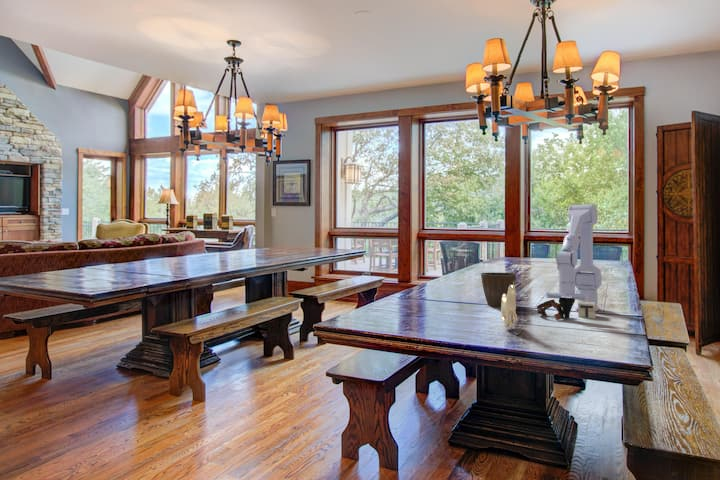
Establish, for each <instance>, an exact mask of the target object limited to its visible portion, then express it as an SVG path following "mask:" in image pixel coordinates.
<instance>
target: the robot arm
mask: <svg viewBox="0 0 720 480" xmlns="http://www.w3.org/2000/svg"><path fill="white" fill-rule="evenodd" d="M567 217H568V219H569V221H570V222H569V223H570V224H569V228H568V234H567V235H565V236H564V238H563V242H562V245H561V249H560V251H558V252H557V253H556V256H555V257H556V258H555V261H556V265H557V266H556V267H557V268H556V270H558V292H546V299H558V304H559V303H560V305H561V307H562V310H563V312H564V319H570V315H571V311H572V308H573V306H574V303H575V301H577V304H578V303H579V302H595V312H597V311H599V310H601V307H599V304H598V303H599V302H598V299H599V298H598V297H599V296H598V289H599V288H601V286H602V283H603V278H602V271H601V269H600V268H599V267H598V266H596V265H595V264H594V244H593V243H594V226H595V225H596V224H597V223H598V208H597V205H596V204H595V203H590V204H570V205H569V206H568V209H567ZM578 249H580V250H578ZM578 251H580V252H578ZM579 253H580V254H579ZM579 255H580V256H579ZM578 256H579V258H580V259H579V258H578ZM578 259H579V260H580V261H579V262H580V263H579V264H580V265H578V266H577V264H578ZM576 266H577V267H576ZM576 289H577V293H576ZM575 310H576V311H578V307H575Z"/></svg>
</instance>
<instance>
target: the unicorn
mask: <svg viewBox="0 0 720 480" xmlns="http://www.w3.org/2000/svg"><path fill="white" fill-rule="evenodd" d="M516 286H517V285H516V283H515V285H514V282H513V285H509V288H508V293H507V295H506V294H503V296H502V299H501V301H502V302H501V308H500V309H501V310H500V312H501V318H502V320H503V322H504V325H503V327H504V328H505V329H506V328H512V327H513V328H515V327H516V326H517V324H518V315H517V312H516V310H517V297H516V295H517V289H516ZM512 319H513V320H512Z"/></svg>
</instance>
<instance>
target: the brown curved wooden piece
mask: <svg viewBox="0 0 720 480" xmlns="http://www.w3.org/2000/svg"><path fill="white" fill-rule="evenodd" d="M552 307H553V308H554V309H556V311H557V313H555V314H553V315H554V317H555V320H556V321H558V320H562V319H563V320H564V319H565V316H564V312H563V309H562V307H561V305H560V303H559V302H557V301H555V299H549V300H546V301H544V302H542V303H540V304H538V305H536V309H537V310H536V311H537V312H536V313H538V314H540V315H541V316H547V312H546V310H548V309H550V308H552Z"/></svg>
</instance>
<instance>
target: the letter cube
mask: <svg viewBox="0 0 720 480" xmlns="http://www.w3.org/2000/svg"><path fill="white" fill-rule="evenodd" d="M577 308H578V310H577V311H578V312H577V314H578V318H585V319H586V318H587V319H596V311H595V302H579V303H578V302H577Z"/></svg>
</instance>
